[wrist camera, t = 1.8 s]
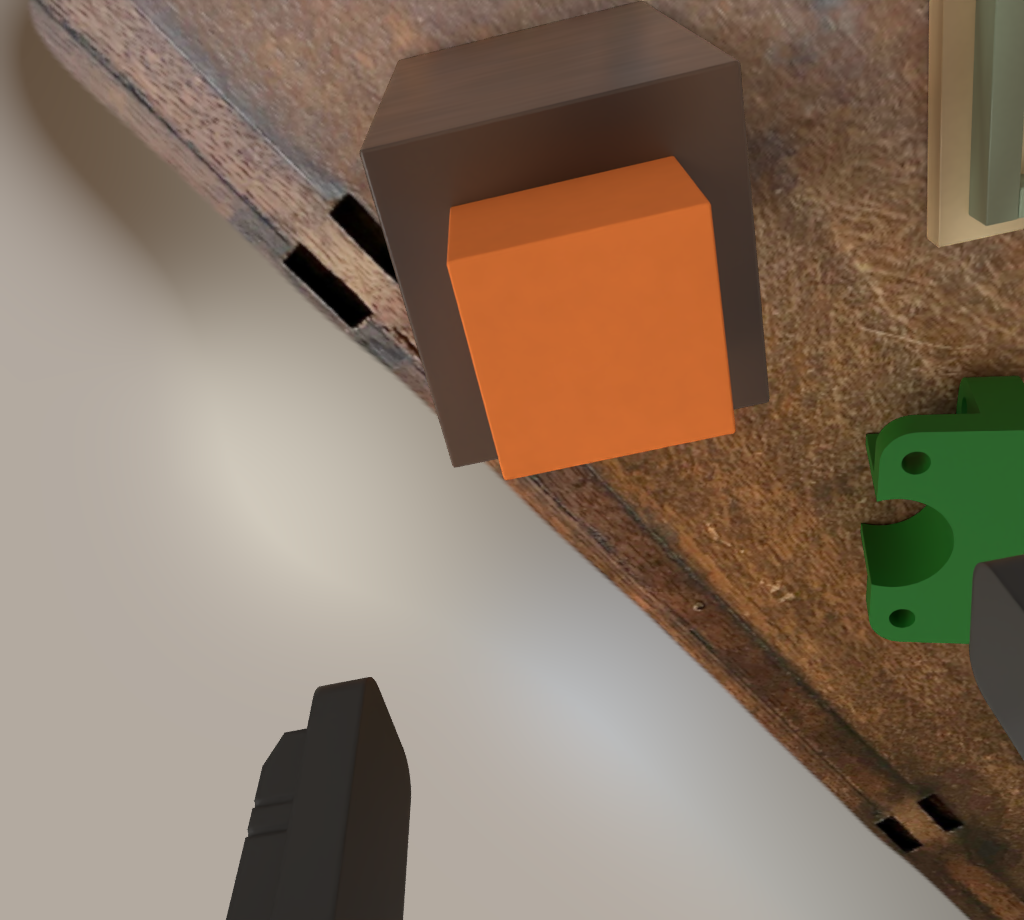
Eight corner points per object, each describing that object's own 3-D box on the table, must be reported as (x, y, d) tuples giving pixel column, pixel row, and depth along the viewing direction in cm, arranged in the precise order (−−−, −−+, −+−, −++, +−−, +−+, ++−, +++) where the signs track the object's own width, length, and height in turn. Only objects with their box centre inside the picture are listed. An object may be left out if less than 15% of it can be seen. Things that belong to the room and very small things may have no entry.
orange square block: (499, 402, 26) (504, 482, 22) (449, 207, 23) (445, 262, 19) (700, 360, 25) (736, 433, 22) (673, 155, 22) (711, 202, 19)
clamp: (857, 373, 46) (881, 389, 37) (991, 368, 45) (1048, 384, 36) (856, 609, 48) (880, 676, 39) (985, 612, 46) (1039, 683, 38)
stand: (458, 290, 39) (453, 469, 27) (397, 60, 34) (358, 151, 22) (675, 241, 38) (770, 402, 26) (643, 0, 33) (740, 59, 21)
